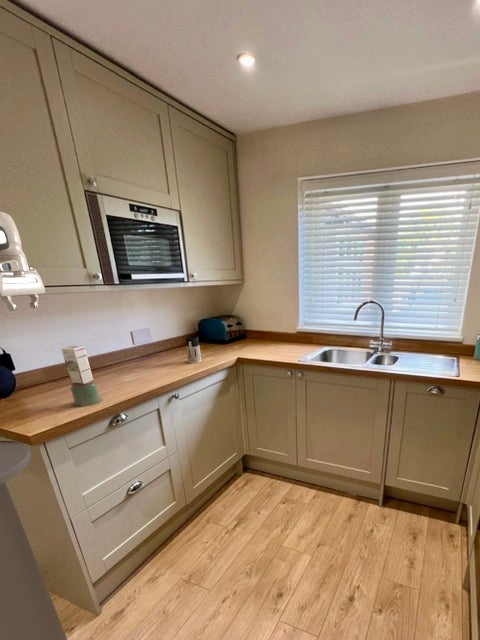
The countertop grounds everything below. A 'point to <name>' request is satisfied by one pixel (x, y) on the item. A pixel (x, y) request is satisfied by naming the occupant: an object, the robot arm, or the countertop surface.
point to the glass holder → (193, 349)
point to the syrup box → (77, 364)
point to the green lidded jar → (85, 393)
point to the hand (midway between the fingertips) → (24, 309)
